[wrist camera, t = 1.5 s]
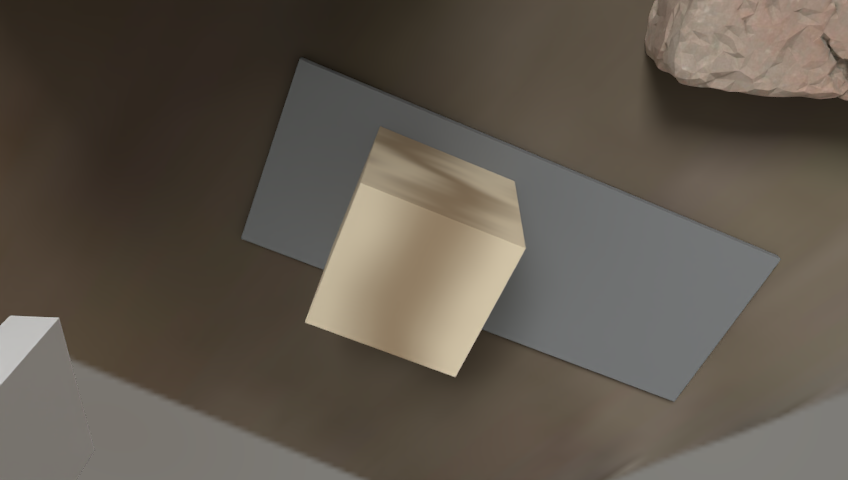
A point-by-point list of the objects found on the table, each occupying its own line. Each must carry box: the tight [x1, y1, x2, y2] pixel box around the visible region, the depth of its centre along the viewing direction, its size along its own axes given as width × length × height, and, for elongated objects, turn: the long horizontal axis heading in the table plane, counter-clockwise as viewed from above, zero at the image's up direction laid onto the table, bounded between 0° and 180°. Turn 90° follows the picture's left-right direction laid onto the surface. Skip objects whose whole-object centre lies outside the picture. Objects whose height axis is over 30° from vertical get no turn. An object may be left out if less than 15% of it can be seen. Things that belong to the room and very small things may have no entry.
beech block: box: [305, 126, 526, 377], centre depth 32 cm, size 7×7×7 cm
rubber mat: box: [241, 57, 781, 401], centre depth 36 cm, size 26×10×1 cm, turn 68°
